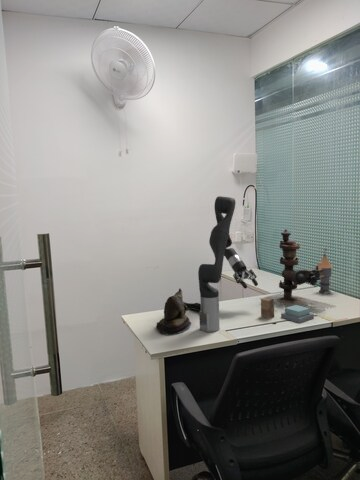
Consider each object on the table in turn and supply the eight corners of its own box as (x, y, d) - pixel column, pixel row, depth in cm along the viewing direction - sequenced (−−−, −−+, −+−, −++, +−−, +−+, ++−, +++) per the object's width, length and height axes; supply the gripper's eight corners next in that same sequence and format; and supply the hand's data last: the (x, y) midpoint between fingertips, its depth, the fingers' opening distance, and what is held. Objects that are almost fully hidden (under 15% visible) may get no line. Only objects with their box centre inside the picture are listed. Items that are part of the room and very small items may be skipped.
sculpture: (173, 318, 213) (177, 284, 208) (199, 330, 202) (203, 295, 197) (144, 330, 196) (147, 294, 191) (171, 344, 185) (174, 306, 180)
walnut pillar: (268, 318, 206) (267, 300, 205) (261, 316, 210) (260, 298, 209) (274, 316, 209) (274, 299, 208) (267, 314, 213) (267, 297, 212)
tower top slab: (298, 317, 200) (298, 311, 199) (285, 313, 207) (285, 307, 207) (309, 313, 205) (309, 308, 204) (296, 310, 212) (295, 304, 212)
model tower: (312, 291, 258) (312, 247, 255) (326, 289, 261) (326, 246, 258) (321, 295, 249) (322, 249, 246) (336, 293, 252) (336, 248, 249)
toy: (173, 309, 237) (207, 316, 214) (172, 300, 237) (206, 306, 214) (183, 306, 242) (217, 313, 219) (182, 298, 242) (216, 303, 219)
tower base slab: (299, 324, 198) (299, 318, 197) (281, 318, 207) (281, 313, 207) (313, 319, 205) (313, 314, 204) (295, 314, 214) (295, 309, 214)
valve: (337, 306, 224) (339, 230, 220) (316, 313, 212) (317, 232, 208) (280, 293, 258) (281, 227, 254) (259, 298, 246) (259, 229, 242)
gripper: (231, 261, 219) (246, 284, 211) (248, 258, 227) (263, 280, 219) (225, 269, 224) (239, 292, 216) (242, 266, 232) (256, 288, 224)
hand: (251, 286), depth 218 cm, fingers open, 8 cm apart
